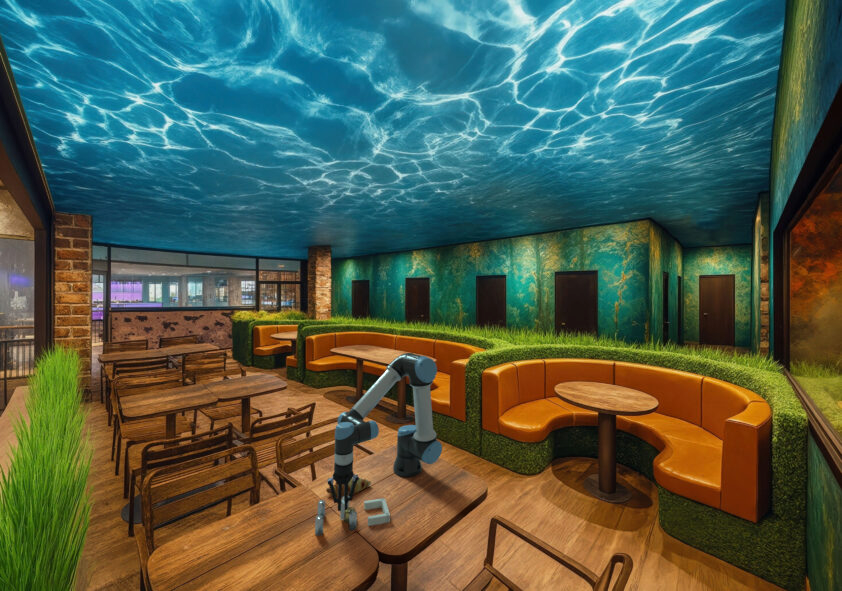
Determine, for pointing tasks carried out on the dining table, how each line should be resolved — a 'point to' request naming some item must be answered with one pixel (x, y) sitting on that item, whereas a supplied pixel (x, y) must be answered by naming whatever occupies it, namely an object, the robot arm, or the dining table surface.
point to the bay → (381, 517)
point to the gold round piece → (346, 515)
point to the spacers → (322, 514)
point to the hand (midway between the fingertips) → (342, 517)
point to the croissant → (359, 486)
